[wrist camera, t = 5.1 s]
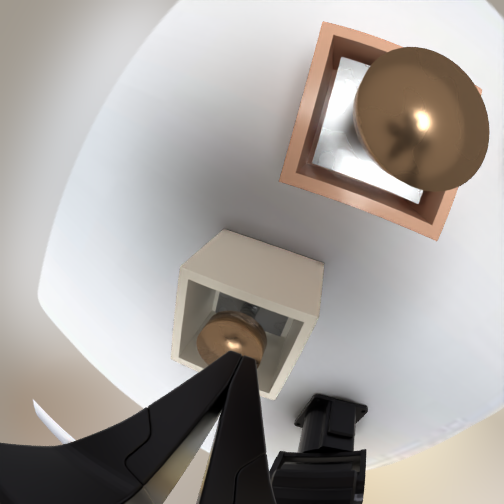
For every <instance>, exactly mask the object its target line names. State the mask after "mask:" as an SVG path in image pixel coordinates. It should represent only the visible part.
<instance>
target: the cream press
mask: <svg viewBox="0 0 504 504" xmlns="http://www.w3.org/2000/svg"><path fill="white" fill-rule="evenodd" d="M323 272H324V263H322V262H319V261H316V260H313V259H311V258H308V257H305V256H302V255H299V254H296V253H293V252H290V251H288V250H285V249H282V248H279V247H276V246H273V245H270V244H267V243H264V242H261V241H259V240H256V239H253V238H250V237H247V236H244V235H241V234H238V233H235V232H232V231H229V230H226V229H223V230H222V231H221V232H220V233H219V234H217V235H216V236H215V237H214V238H213V239H212V240H210V241H209V242H208V243H207V244H206V245H204V246H203V247H202V248H201V249H200V250H199V251H197V252H196V253H195V254H194V255H193V256H192V257H191V258H189V259H188V260H187V261H186V262H185V263H184V264H182V265H181V266H180V271H179V279H178V288H177V296H176V305H175V315H174V326H173V337H172V349H171V359H172V360H174V361H176V362H178V363H180V364H182V365H185V366H187V367H189V368H191V369H193V370H196V371H198V372H200V371H201V370H203V369H204V368H206V367H207V366H209V365H208V364H207V363H206V362H205V361H204V360H203V359H202V357H201V356H200V354H199V352H198V350H197V344H196V342H197V337H198V335H199V334H200V332H201V331H202V329H203V328H204V326H205V325H206V323H207V322H208V321H209V319H210V318H211V317H212V316H213V315H214V314H216V312H215V311H216V306H217V302H218V297H219V293H220V292H222V293H224V294H227V295H230V296H232V297H235V298H238V299H240V300H243V301H246V302H248V303H251V304H254V305H256V306H259V307H262V308H265V309H267V310H270V311H273V312H276V313H279V314H282V315H284V316H287V317H288V320H287V322H286V324H285V327H284V329H283V332H282V334H281V336H277V335H274V334H271V333H268V332H266V331H265V334H266V337H267V346H266V349H265V352H264V354H263V357H262V360H261V363H260V365H259V367H258V369H257V374H258V383H259V392H260V396H262V397H265V398H268V399H271V400H274V401H275V399H276V397H277V396H278V394H279V392H280V390H281V389H282V387H283V385H284V383H285V382H286V380H287V378H288V376H289V374H290V373H291V371H292V369H293V367H294V365H295V363H296V361H297V360H298V358H299V356H300V354H301V352H302V350H303V348H304V346H305V344H306V342H307V340H308V338H309V336H310V334H311V332H312V330H313V328H314V326H315V324H316V322H317V320H318V318H319V312H320V303H321V293H322V283H323Z"/></svg>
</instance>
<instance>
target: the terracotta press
mask: <svg viewBox="0 0 504 504" xmlns="http://www.w3.org/2000/svg"><path fill="white" fill-rule="evenodd" d="M398 48H404V47H401V46H399V45H396V44H394V43H391V42H389V41H386V40H384V39H381V38H378V37H375V36H372V35H369V34H366V33H363V32H360V31H357V30H354V29H350V28H347V27H343V26H339V25H336V24H332V23H328V22H322V26H321V30H320V33H319V37H318V41H317V44H316V48H315V52H314V56H313V59H312V63H311V67H310V70H309V74H308V78H307V81H306V85H305V89H304V92H303V96H302V100H301V103H300V107H299V111H298V114H297V118H296V121H295V125H294V129H293V132H292V136H291V139H290V143H289V147H288V150H287V154H286V157H285V161H284V165H283V168H282V172H281V175H280V179H279V182H282V183H285V184H288V185H292V186H295V187H298V188H301V189H304V190H307V191H310V192H313V193H316V194H319V195H322V196H325V197H327V198H330V199H333V200H336V201H339V202H342V203H344V204H347V205H350V206H352V207H355V208H358V209H360V210H363V211H366V212H368V213H371V214H373V215H376V216H379V217H381V218H384V219H386V220H389V221H391V222H393V223H396V224H398V225H401V226H403V227H405V228H408V229H410V230H413V231H415V232H417V233H419V234H422V235H424V236H426V237H429V238H431V239H433V240H435V241H437V240H438V238H439V236H440V233H441V231H442V229H443V226H444V224H445V221H446V219H447V216H448V214H449V211H450V209H451V206H452V203H453V201H454V198H455V195H456V192H457V189H458V187H457V188H454V189H451V190H447V191H440V192H432V191H424V190H423V193H422V195H421V198H420V201H419V204H417V203H414V202H412V201H410V200H408V199H405V198H403V197H401V196H398V195H396V194H394V193H391V192H389V191H387V190H384V189H382V188H379V187H377V186H374V185H372V184H369V183H366V182H364V181H361V180H359V179H356V178H353V177H350V176H348V175H345V174H342V173H339V172H337V171H334V170H331V169H328V168H325V167H322V166H319V165H316V164H313V163H312V161H313V157H314V154H315V151H316V147H317V144H318V140H319V137H320V133H321V130H322V126H323V123H324V119H325V116H326V112H327V108H328V105H329V101H330V98H331V94H332V90H333V86H334V83H335V79H336V75H337V71H338V67H339V64H340V60H341V57H344V58H348V59H351V60H354V61H357V62H360V63H363V64H366V65H369V66H371V64H372V63H373V62H374V61H375V60H377V59H378V58H379V57H380V56H382V55H383V54H385V53H387V52H389V51H391V50H394V49H398ZM475 86H476V85H475ZM476 88H477V89H478V91H479V93H480V95H481V93H482V89H481V88H479V87H477V86H476Z"/></svg>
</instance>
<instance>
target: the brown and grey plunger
mask: <svg viewBox="0 0 504 504" xmlns="http://www.w3.org/2000/svg"><path fill="white" fill-rule="evenodd" d="M488 143H489V121H488V115H487V111H486V108H485V105H484V102H483V100H482V97H481V95H480V93H479V91H478V89H477V88H476V86H475V85H474V83H473V82H472V80H471V79H470V78H469V77H468V75H467V74H466V73H465V72H464V71H463V70H462V69H461V68H460V67H459V66H458V65H456V64H455V63H454V62H453V61H451V60H450V59H448V58H446V57H445V56H443V55H441V54H439V53H437V52H434V51H431V50H428V49H424V48H418V47H404V48H398V49H394V50H391V51H389V52H387V53H385V54H383V55H382V56H380V57H379V58H378V59H377V60H375V61H374V62H373V63H372V64H371V66H369V65H366V64H363V63H360V62H357V61H354V60H351V59H348V58H344V57H341V60H340V64H339V67H338V71H337V75H336V79H335V83H334V86H333V90H332V94H331V98H330V101H329V105H328V108H327V112H326V116H325V119H324V123H323V126H322V130H321V133H320V137H319V140H318V144H317V147H316V151H315V154H314V157H313V161H312V163H313V164H316V165H319V166H322V167H325V168H328V169H331V170H334V171H337V172H339V173H342V174H345V175H348V176H350V177H353V178H356V179H359V180H361V181H364V182H366V183H369V184H372V185H374V186H377V187H379V188H382V189H384V190H387V191H389V192H391V193H394V194H396V195H398V196H401V197H403V198H405V199H408V200H410V201H412V202H414V203H417V204H419V201H420V198H421V195H422V193H423V190H424V191H432V192H440V191H447V190H451V189H454V188H457V187H459V186H461V185H462V184H464V183H466V182H467V181H468V180H469V179H471V178H472V177H473V175H474V174H475V173H476V172H477V171H478V169H479V168H480V166H481V164H482V162H483V160H484V158H485V155H486V152H487V148H488Z"/></svg>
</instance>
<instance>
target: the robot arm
mask: <svg viewBox="0 0 504 504" xmlns="http://www.w3.org/2000/svg"><path fill="white" fill-rule="evenodd" d="M367 412H368V407H366V406H362V405H358V404H354V403H349V402H345V401H341V400H337V399H334V398H330V397H326V396H322V395H314V396H313V397H312V399H311V400H310V402H309V403H308V404H307V406H306V407H305V408H304V410H303V411H302V412H301V414H300V415H299V416H298V418H297V419H296V420H295V423H294V425H295V426H298V427H302V428H303V429H302V434H301V439H300V443H299V448H298V452H297V453H295V452H285V451H280V452H279V454H278V456H277V457H276V459H275V461H274V463H273V465H272V467H271V469H270V471H269V468H268V460H267V455H266V444H265V436H264V427H263V418H262V410H261V401H260V392H259V383H258V374H257V365H256V360H255V359H254V358H251V357H249V356H246V355H244V356H242V354H240V353H237V352H234V351H228V352H227V353H225V354H224V355H222V356H221V357H220V358H218V359H217V360H216V361H214V362H213V363H211V364H210V365H209V366H207V367H206V368H204V369H203V370H201V371H200V372H199V373H197V374H196V375H194V376H193V377H191V378H190V379H188V380H187V381H186V382H184V383H183V384H181V385H180V386H178V387H177V388H175V389H174V390H172V391H171V392H169V393H168V394H166V395H165V396H163V397H162V398H160V399H159V400H157V401H155V402H154V403H152V404H151V405H149V406H148V408H147V407H146V408H144V409H143V410H141V411H140V412H138V413H136V414H135V415H133V416H132V417H130V418H128V419H126V420H124V421H122V422H120V423H118V424H116V425H114V426H111V427H109V428H107V429H105V430H102V431H100V432H97V433H95V434H92V435H90V436H87V437H84V438H82V439H79V440H76V441H74V442H71V443H67V444H63V445H58V446H31V445H16V444H6V443H0V504H163V502H164V501H165V500H166V498H167V497H168V495H169V494H170V492H171V491H172V489H173V488H174V487H175V485H176V484H177V482H178V481H179V479H180V478H181V476H182V475H183V473H184V472H185V470H186V468H187V467H188V465H189V464H190V462H191V461H192V459H193V458H194V456H195V455H196V453H197V451H198V450H199V448H200V447H201V445H202V444H203V442H204V440H205V439H206V437H207V436H208V434H209V432H210V431H211V429H212V427H213V426H214V424H215V422H216V421H217V419H218V417H219V415H220V418H219V421H218V425H217V429H216V433H215V436H214V440H213V444H212V448H211V451H210V455H209V459H208V463H207V466H206V470H205V474H204V477H203V481H202V485H201V488H200V492H199V496H198V499H197V503H196V504H362V502H363V494H364V485H365V470H366V449H363V450H361V451H354V436H355V424H356V423H357V422H358V421H359V420H360V419H361V418H362V417H363V416H364V415H365V414H366V413H367ZM220 413H221V414H220Z"/></svg>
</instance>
